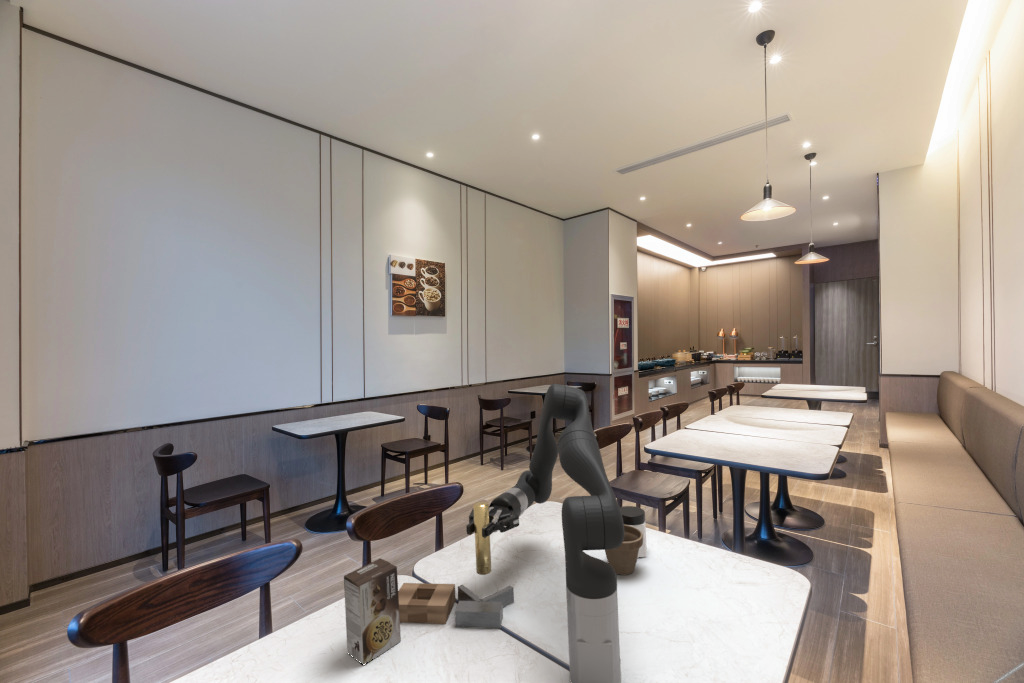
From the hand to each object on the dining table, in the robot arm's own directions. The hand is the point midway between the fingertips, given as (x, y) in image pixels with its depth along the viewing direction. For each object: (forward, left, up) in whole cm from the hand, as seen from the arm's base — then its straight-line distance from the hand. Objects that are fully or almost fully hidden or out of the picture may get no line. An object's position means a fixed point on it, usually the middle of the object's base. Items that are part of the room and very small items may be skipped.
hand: (475, 532), depth 104 cm
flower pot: (+20, -35, -19) cm, 45 cm away
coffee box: (-14, +20, -19) cm, 30 cm away
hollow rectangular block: (-1, +13, -18) cm, 22 cm away
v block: (-1, -1, -18) cm, 18 cm away
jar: (+30, -39, -19) cm, 53 cm away
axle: (+3, -1, -10) cm, 11 cm away
